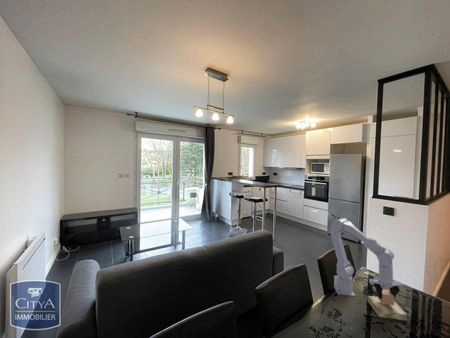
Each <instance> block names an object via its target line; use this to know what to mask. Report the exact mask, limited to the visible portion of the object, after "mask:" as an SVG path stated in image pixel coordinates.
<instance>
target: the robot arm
mask: <svg viewBox="0 0 450 338" xmlns="http://www.w3.org/2000/svg"><path fill="white" fill-rule="evenodd" d="M330 225H331V227H330V230H329V234H330V236H331V241H332V244H333V248H334V252H335V257H336V259H337V263H336V274H337V275H334V276H333V288H334V290H335V292H336V293H337V295H342V296H350V297H356V294H355V293H354V292H353V274H354V273H355V269H354V267H353V265H352V264H351V262H350V261H349V260H348V258H347V253H346V250H345V249H346V248H345V247H344V244H343V243H344V242H343V239H342V236H341V234H342V232H349V233H351V235H352V234H353V235H354V237H356V238H357V239H359V240H360V241H361V242H363V246H365V247H366V249H368V250H369V251H370V252H372V254H374V255H375V256H376V258H377V260H378V278H369V279H368V280H369V282H368V283H369V284H370V285H372V286H374V288H375V290H376V293H377V297H379V299H382V290H383V287H382V286H386V287H387V288H389V291H390V292H391V293H392V294H393V295H394V301H395V299H396V297H397V295H398V294H399V293H400V291H401V290H400V289H404V284H403V283H402V282H400V281H395V280H394V272H393V271H394V268H393V267H394V266H393V260H394V259H395V255H394V252H392V250H390V249H387V248H386V247H385V246H384V247H383V246H382V245H381V244H380V243H379V242H378V241H377V239H373V238H371V237H368V236H367V235H365V234H364V232H362V231H361V230H360V229H358V228H357V227H356V226H355V225H354V224H353V223H352V222H351V221H350V220H349V219H348V218H346V217H341V218H338V219H334V220H333V221H332V222H331V223H330Z"/></svg>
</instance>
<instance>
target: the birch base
mask: <svg viewBox="0 0 450 338" xmlns="http://www.w3.org/2000/svg"><path fill="white" fill-rule="evenodd" d="M367 302H368V304H369V305H370V306H371V307H372V310H373V311H374V312H375V313H376V314H377V316H378V317H380V318H385V319H386V318H387V319H392V320H393V319H394V320H400V321H408V313H406V311H405V310H404V309H403V308H402V307H401V306H400V305H399V304H398V303H397V302H396V301H395V300H394V305H387V304H383V303H382V302H381V301H380V300H379V299H378V296H374V295H373V296H371V295H367Z"/></svg>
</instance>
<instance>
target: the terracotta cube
mask: <svg viewBox="0 0 450 338" xmlns="http://www.w3.org/2000/svg"><path fill="white" fill-rule="evenodd" d="M377 297H378V296H377ZM378 299H379V297H378ZM379 300H380V301H381V302H382V303H383V304H387V305H394V301H395V300H394V295H393V294H392V293H391V292H390V289H383V290H382V299H379Z"/></svg>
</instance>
